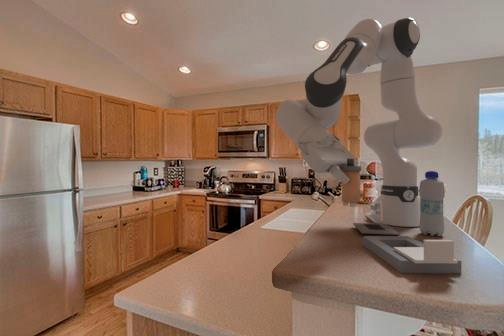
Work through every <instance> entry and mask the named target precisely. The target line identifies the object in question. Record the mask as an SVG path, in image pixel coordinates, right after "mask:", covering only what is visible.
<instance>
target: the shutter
mask: <svg viewBox="0 0 504 336" xmlns="http://www.w3.org/2000/svg"><path fill="white" fill-rule="evenodd" d="M423 244H424V247H394V250H395V251H396V252H398V253H400V254H401V255H403V256H405V257H406V258H408V259H410V260H411V261H413V262H415V263H457V260H456V259H457V258H456V259H454V258H455V256H454V255H455V254H454V253H455V252H454V251H455V250H454V247H455V246H454V245H455V244H454V240H451V239H423Z"/></svg>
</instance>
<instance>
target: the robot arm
mask: <svg viewBox="0 0 504 336" xmlns="http://www.w3.org/2000/svg"><path fill="white" fill-rule="evenodd" d="M420 38H421V32H420V27H419V24H418V22H417V21H416V20H415V19H414V18H411V17H405V18H401V19H397V20H396V21H395V22H391V23H388V24H386V25H383V26H382V25H381V24H380V23H379V22H378V21H377V20H376V19H373V18H366V19H363V20H360V21H359V22H358V23H357V24H356V25H354V26H353V27H352V28H351V30H349V32H348V33H347V34H346V35H345V36H344V39H343V40H342V41H340V43H339V44H338V45H337V46H336V48H335V49H334V50H333V51H332V52H331V54H330V55H329V56H328V57H327V59H326V60H325V61H324V63H322V64H321V65H320V66H319V67H317V68H315V70H313V71H311V72H310V74H309V75H308V76H307V77H306V79H305V82H304V90H305V99H302V100H301V99H299V100H298V99H297V100H294V99H292V98H287V99H284V100H283V101H282V102H281V103H280V104H279V106H278V108H277V109H276V112H275V120H276V123H277V124H278V125H277V126H278V127H279V128H280V129H281V130H282V132H283V133H284V134H285V135H286V137H288V139H290V140H292V141H293V143H294V144H295V146H296V147H297V149H298V150H299V151H300V156H301V157H302V159H303V160H304V162H305V163H306V164H307V165H308V167H310V169H311V171H313V172H315V173H316V174H326V173H327V174H328V173H329V174H330V175H332V176H333V177H334V178H336V179H338V180H339V181H340V182H341V184H342V183H343V184H348V183H349V182H350V181H351V178H350V177H349V176H348V175H347V174H345V173H344V172H343V171H341V170H340V166H347V159H354V166H359V161H358V160H357V158H356V157H355V156H354V154H352V152H351V151H349V149H348V148H347V147H346V146H345V145H343V144H342V140H341V139H340V138H339V137H338V136H336V135H334V134H332V132H330V131H329V130H328V129H330V128H331V127H333V126H335V125H336V124H337V123H338V121H339V119H340V116H341V111H342V106H343V100H344V99H343V98H344V93H345V90H346V87H347V82H348V81H347V80H348V79H347V74H348V75H359V74H362V73H363V72H364V71H365V70H366V69H367V68H369V67H371V66H373V65H378V64H381V67H380V68H381V69H380V82H379V83H380V97H381V101H380V103H381V105H382V106H383V108H384V109H386V110H387V111H391V112H395V113H396V114H397V116H398V119H396V120H395V119H393V120H387V121H380V122H377V123H374V124H371V125H368V126H367V128H366V129H365V131H364V134H363V140H364V144H365V145H366V146H367V147H368V149H370V150H371V151H373V152H374V153H375V154H376V155H377V157H378V159H379V161H380V164H381V169H382V185H381V187H380V195H379V196H378V197H377V198H376V199H375V200H374V201H373V202H372V204H370V210H371V212H368V213H366V214H365V216H366V217H367V219H369V220H370V221H372V223H373V224H386V225H387V226H394V227H406V228H407V227H408V228H411V227H412V228H415V227H420V200H419V198H418V196H419V186H418V166H417V165H416V163H415V162H414V161H412V160H411V159H408V158H406V157H404V156H402V155H401V153H400V150H401V149H403V150H404V149H421V148H425V147H429V146H434V145H436V144H437V143H438V142H439V141H440V138H441V136H442V134H443V127H442V125H441V123H440V121H439V120H438V119H436V118H435V117H434V116H431V115H430V114H427V113H426V112H425V110H423V108H422V107H421V105H420V104H419V101H418V99H417V89H416V78H415V75H416V74H415V68H414V62H413V58H412V55H413V53H414V51H415V50H416V49H417V46H418V45H419V42H420V40H421V39H420Z"/></svg>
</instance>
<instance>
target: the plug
mask: <svg viewBox="0 0 504 336" xmlns="http://www.w3.org/2000/svg"><path fill="white" fill-rule="evenodd" d="M340 170H341V171H343V172H344V173H345V174H347V175H348V176H349V177H350V178H351V181H350V182H349V183H348V184H343V183H342V182H341V202H342V205H343V206H347V207H348V206H349V207H351V208H352V207H353V208H355V207H356V206H357V203H360V202H361V171H362V166H361V165H357V166H354V159H347V166H340Z"/></svg>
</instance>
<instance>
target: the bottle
mask: <svg viewBox="0 0 504 336" xmlns="http://www.w3.org/2000/svg"><path fill="white" fill-rule="evenodd" d="M424 177H425V179H423V180H420V182H419V187H418V190H419V192H418V196H419V198H420V226H419V230H420V231H419V232H420V233H421V234H423V235H425V236H428V235H429V234H430V236H431V237H434V236H435V235H436V237H440V236H442V235H443V234H444V232H445V222H444V221H445V219H444V198H445V197H446V195H445V193H446V191H445V184H444V181H442V180H440V179H439V173H438V171H433V170H428V171H426V172H425V173H424Z"/></svg>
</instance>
